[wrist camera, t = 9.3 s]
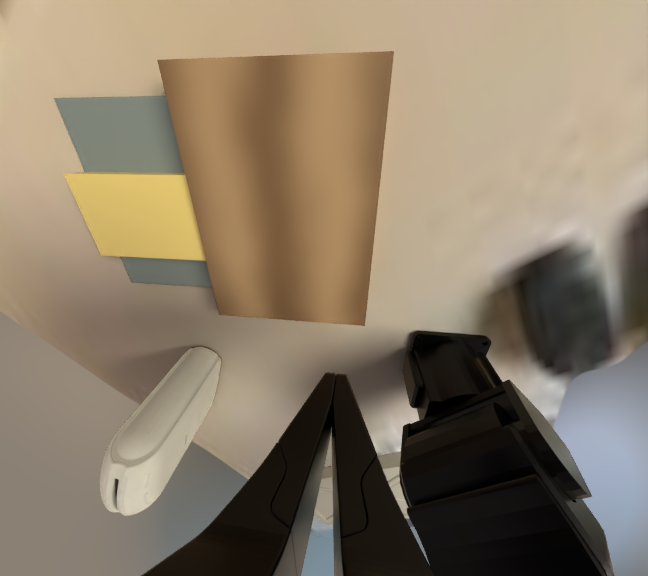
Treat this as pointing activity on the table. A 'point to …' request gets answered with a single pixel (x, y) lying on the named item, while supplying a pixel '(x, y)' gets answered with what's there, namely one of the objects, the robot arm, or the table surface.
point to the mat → (132, 163)
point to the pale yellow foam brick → (138, 214)
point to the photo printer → (158, 433)
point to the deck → (284, 177)
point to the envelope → (391, 472)
